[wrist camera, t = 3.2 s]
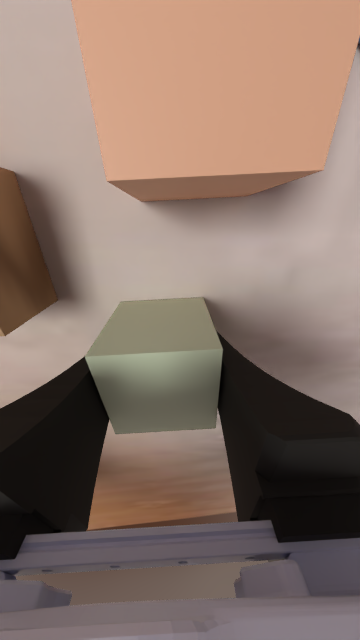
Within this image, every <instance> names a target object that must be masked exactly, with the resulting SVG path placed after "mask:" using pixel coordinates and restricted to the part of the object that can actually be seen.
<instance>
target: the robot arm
mask: <svg viewBox="0 0 360 640" xmlns="http://www.w3.org/2000/svg"><path fill="white" fill-rule="evenodd" d="M216 332H217V331H216ZM217 335H218V338H219V340H220V343H221V345H222V348H223V353H222V364H221V375H220V386H219V397H218V411H219V415H220V420H221V425H222V430H223V435H224V441H225V446H226V451H227V457H228V463H229V468H230V474H231V480H232V486H233V492H234V498H235V504H236V511H237V516H238V522H230V523H215V524H198V525H182V526H165V527H150V528H132V529H116V530H100V531H86V530H87V529H88V522H89V516H90V510H91V505H92V499H93V493H94V487H95V482H96V477H97V472H98V467H99V462H100V457H101V453H102V448H103V444H104V439H105V435H106V431H107V427H108V423H109V416H108V414H107V411H106V409H105V406H104V404H103V401H102V399H101V396H100V394H99V391H98V389H97V386H96V384H95V381H94V379H93V376H92V374H91V371H90V369H89V366H88V364H87V361H86V359H85V356H84V357H83V358H82V359H81V360H79V361H78V362H77V363H75V364H74V365H73V366H71V367H70V368H69V369H67V370H66V371H64V372H63V373H61V374H60V375H58V376H57V377H55V378H54V379H52V380H51V381H49V382H48V383H46V384H44V385H43V386H41V387H39V388H38V389H36V390H34V391H32V392H30V393H29V394H27V395H25V396H23V397H22V398H20V399H18V400H16V401H14V402H12V403H10V404H8V405H6V406H4V407H3V408H1V409H0V640H360V425H359V424H358V423H357V422H356V420H355V419H354V418H353V417H352V416H351V415H350V414H347V413H345V412H343V411H340V410H338V409H336V408H334V407H331V406H329V405H327V404H324V403H322V402H320V401H317V400H315V399H313V398H311V397H309V396H307V395H305V394H303V393H301V392H299V391H297V390H295V389H293V388H291V387H289V386H287V385H286V384H284V383H282V382H281V381H279V380H277V379H275V378H274V377H272V376H270V375H269V374H267V373H266V372H264V371H263V370H261V369H260V368H258V367H257V366H255V365H254V364H253V363H251V362H250V361H249V360H247V359H246V358H245V357H244V356H242V355H241V354H240V353H239V352H238V351H237V350H236V349H234V348H233V347H232V346H231V345H230V344H229V343H228V342H227V341H226V340H225V339H224V338H223V337H222V336H221V335H220V334H219V333H218V332H217ZM277 559H284V560H279V561H273V562H267V563H263V564H257V565H252V566H247V567H243V568H241V571H240V576H241V577H240V578H238V579H236V580H235V582H234V587H235V593H236V598H223V599H222V598H220V599H219V598H218V599H185V600H184V599H183V600H156V601H137V602H117V603H102V604H87V605H75V606H69V604H70V601H71V597H72V593H71V591H68V590H63V589H57V588H54V587H51V586H48V585H47V584H45V583H44V582H43V581H24V580H16V577H15V576H21V575H37V574H53V573H68V572H85V571H101V570H117V569H133V568H149V567H165V566H181V565H196V564H213V563H228V562H245V561H261V560H277Z"/></svg>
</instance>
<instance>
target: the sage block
mask: <svg viewBox="0 0 360 640" xmlns="http://www.w3.org/2000/svg"><path fill="white" fill-rule="evenodd" d="M222 353H223V348H222V345H221V343H220V340H219V338H218V335H217V332H216V330H215V327H214V325H213V322H212V320H211V317H210V314H209V312H208V309H207V307H206V304H205V301H204V299H203V297H199V298H181V299H163V300H145V301H127V302H120V304H119V305H118V307H117V308H116V310H115V311H114V313H113V314H112V316H111V317H110V319H109V320H108V322H107V324H106V325H105V327H104V328H103V330H102V331H101V333H100V334H99V336H98V337H97V339H96V340H95V342H94V343H93V345H92V346H91V348H90V349H89V351H88V353H87V354H86V356H85V359H86V361H87V364H88V366H89V369H90V371H91V374H92V376H93V379H94V381H95V384H96V386H97V389H98V391H99V394H100V396H101V399H102V401H103V404H104V406H105V409H106V411H107V414H108V416H109V419H110V421H111V424H112V426H113V429H114V432H115V434H127V433H144V432H161V431H178V430H195V429H212V428H216V419H217V408H218V397H219V386H220V375H221V364H222Z"/></svg>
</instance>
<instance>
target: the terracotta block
mask: <svg viewBox="0 0 360 640" xmlns="http://www.w3.org/2000/svg"><path fill="white" fill-rule="evenodd" d="M71 2H72V7H73V12H74V17H75V22H76V27H77V32H78V37H79V42H80V47H81V53H82V58H83V63H84V68H85V73H86V78H87V83H88V88H89V93H90V98H91V103H92V109H93V114H94V119H95V124H96V129H97V134H98V139H99V144H100V149H101V154H102V159H103V165H104V170H105V175H106V180H107V181H108V182H109V183H111V184H113V185H114V186H116V187H118V188H119V189H121V190H123V191H124V192H126V193H128V194H129V195H131V196H133V197H134V198H136V199H138V200H139V201H161V200H181V199H200V198H220V197H240V196H249V195H252V194H255V193H257V192H260V191H263V190H266V189H269V188H272V187H275V186H278V185H281V184H284V183H287V182H290V181H293V180H296V179H299V178H302V177H304V176H307V175H310V174H313V173H316V172H319V171H322V170H323V169H324V166H325V162H326V158H327V155H328V151H329V147H330V144H331V140H332V136H333V133H334V129H335V125H336V122H337V118H338V114H339V111H340V107H341V103H342V100H343V96H344V92H345V89H346V85H347V81H348V78H349V74H350V70H351V67H352V63H353V59H354V55H355V52H356V48H357V44H358V41H359V37H360V0H71Z"/></svg>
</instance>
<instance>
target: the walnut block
mask: <svg viewBox="0 0 360 640" xmlns="http://www.w3.org/2000/svg"><path fill="white" fill-rule="evenodd" d="M57 300H58V299H57V296H56V293H55V290H54V287H53V284H52V281H51V278H50V275H49V272H48V270H47V267H46V264H45V261H44V258H43V255H42V252H41V249H40V246H39V243H38V240H37V237H36V235H35V232H34V229H33V226H32V223H31V220H30V217H29V214H28V211H27V208H26V205H25V202H24V200H23V197H22V194H21V191H20V188H19V185H18V182H17V179H16V176H15V173H14V172H13V171H10V170H7V169H4V168H0V336H6V335H7V334H9V333H10V332H12V331H13V330H15V329H16V328H18V327H19V326H21V325H22V324H24V323H25V322H27V321H28V320H29V319H31V318H32V317H34V316H35V315H37V314H38V313H40V312H41V311H43V310H44V309H46V308H47V307H49V306H50V305H52V304H53V303H54V302H56V301H57Z"/></svg>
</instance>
